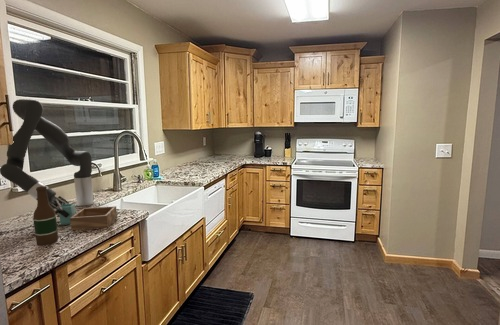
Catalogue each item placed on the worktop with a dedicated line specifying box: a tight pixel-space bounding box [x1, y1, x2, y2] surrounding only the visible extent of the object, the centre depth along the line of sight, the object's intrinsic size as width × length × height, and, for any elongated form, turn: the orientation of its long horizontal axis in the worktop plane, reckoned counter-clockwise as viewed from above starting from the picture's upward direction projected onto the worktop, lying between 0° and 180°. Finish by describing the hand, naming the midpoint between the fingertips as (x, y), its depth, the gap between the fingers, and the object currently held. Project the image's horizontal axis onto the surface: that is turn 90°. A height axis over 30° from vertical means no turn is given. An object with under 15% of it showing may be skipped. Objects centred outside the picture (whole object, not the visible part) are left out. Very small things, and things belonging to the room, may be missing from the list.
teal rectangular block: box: [58, 203, 77, 226], centre depth 146 cm, size 6×6×9 cm
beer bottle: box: [32, 185, 59, 247], centre depth 121 cm, size 8×8×24 cm
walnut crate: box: [70, 205, 118, 231], centre depth 145 cm, size 16×16×6 cm
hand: (70, 213), depth 146 cm, fingers open, 7 cm apart
